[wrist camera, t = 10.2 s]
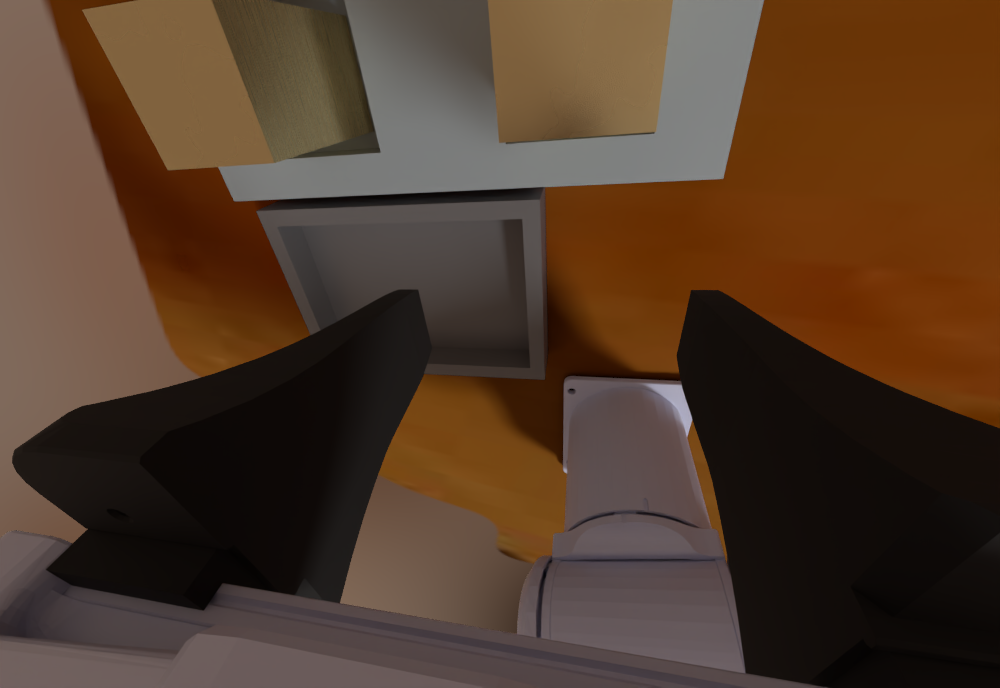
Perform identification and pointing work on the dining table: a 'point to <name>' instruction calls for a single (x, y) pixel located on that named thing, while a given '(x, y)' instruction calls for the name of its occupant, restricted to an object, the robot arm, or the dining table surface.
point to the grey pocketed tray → (473, 117)
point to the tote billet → (234, 78)
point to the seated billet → (577, 66)
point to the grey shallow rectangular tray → (427, 269)
